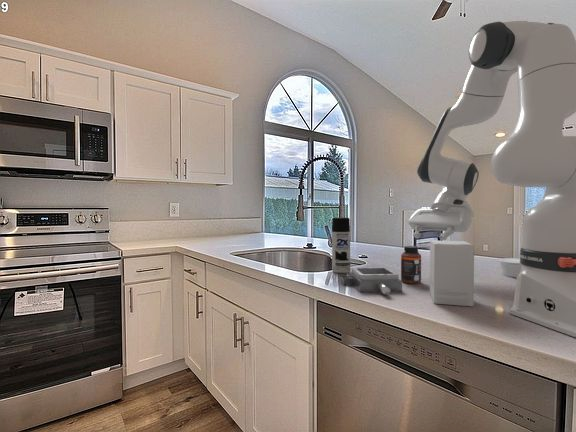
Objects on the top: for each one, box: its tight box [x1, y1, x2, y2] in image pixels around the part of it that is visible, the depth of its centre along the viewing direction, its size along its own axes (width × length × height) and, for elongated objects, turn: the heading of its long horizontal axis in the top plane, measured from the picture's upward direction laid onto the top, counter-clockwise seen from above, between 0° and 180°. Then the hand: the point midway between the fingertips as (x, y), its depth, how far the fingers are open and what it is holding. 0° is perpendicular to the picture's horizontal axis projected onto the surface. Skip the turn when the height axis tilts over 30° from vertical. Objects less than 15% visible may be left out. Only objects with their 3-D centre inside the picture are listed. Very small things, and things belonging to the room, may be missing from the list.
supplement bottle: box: [400, 245, 422, 285], centre depth 102 cm, size 6×6×11 cm
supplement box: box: [429, 239, 475, 308], centre depth 82 cm, size 9×9×15 cm
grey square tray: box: [340, 266, 403, 296], centre depth 95 cm, size 19×15×4 cm
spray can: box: [331, 217, 352, 274], centre depth 118 cm, size 7×7×20 cm
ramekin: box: [498, 257, 522, 279], centre depth 109 cm, size 11×11×5 cm
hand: (428, 237), depth 106 cm, fingers open, 8 cm apart
